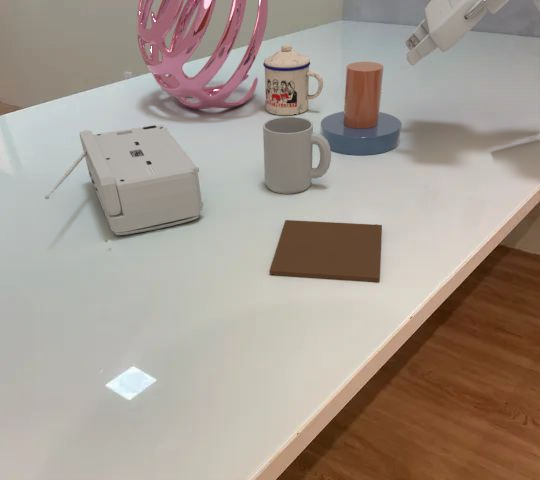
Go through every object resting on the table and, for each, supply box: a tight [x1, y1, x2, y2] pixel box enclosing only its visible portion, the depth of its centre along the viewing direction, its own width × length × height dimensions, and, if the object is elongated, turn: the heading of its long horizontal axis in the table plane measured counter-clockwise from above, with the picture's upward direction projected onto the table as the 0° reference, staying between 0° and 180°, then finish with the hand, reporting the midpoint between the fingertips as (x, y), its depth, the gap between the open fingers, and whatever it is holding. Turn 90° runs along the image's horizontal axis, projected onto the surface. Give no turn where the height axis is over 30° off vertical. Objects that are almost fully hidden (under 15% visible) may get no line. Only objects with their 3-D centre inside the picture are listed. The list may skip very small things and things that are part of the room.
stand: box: [319, 111, 403, 156], centre depth 98 cm, size 14×14×3 cm
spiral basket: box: [136, 0, 269, 110], centre depth 110 cm, size 28×28×27 cm
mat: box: [269, 219, 383, 283], centre depth 70 cm, size 13×13×1 cm
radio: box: [44, 124, 204, 236], centre depth 80 cm, size 21×8×20 cm
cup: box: [262, 116, 332, 195], centre depth 83 cm, size 7×10×9 cm
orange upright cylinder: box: [343, 61, 384, 129], centre depth 94 cm, size 6×6×9 cm
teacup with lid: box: [262, 43, 324, 116], centre depth 109 cm, size 12×9×12 cm
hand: (408, 53), depth 89 cm, fingers open, 8 cm apart
